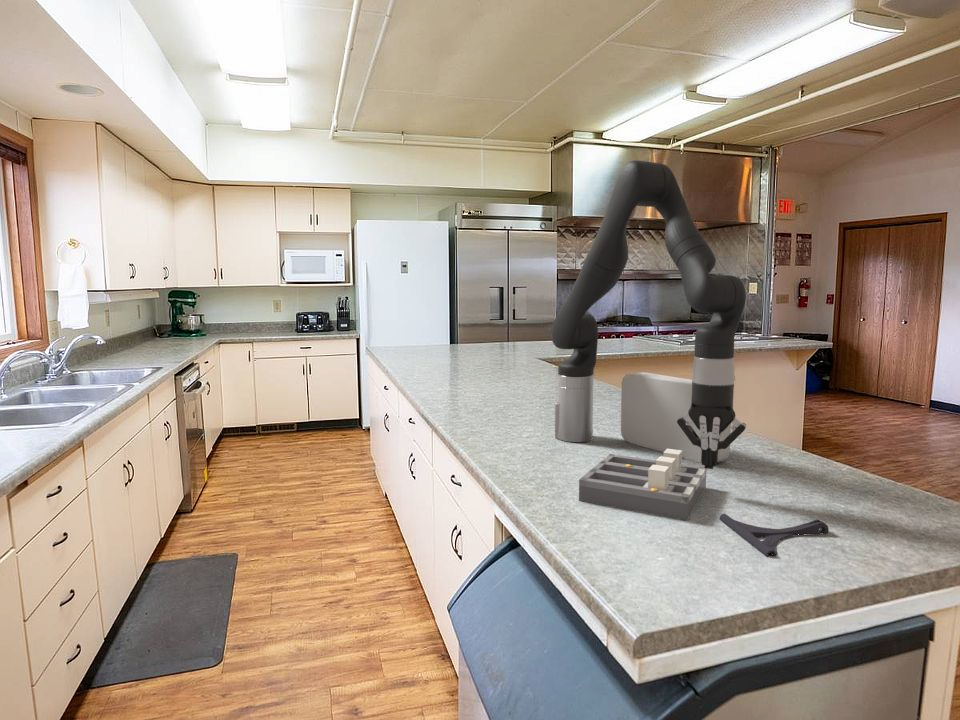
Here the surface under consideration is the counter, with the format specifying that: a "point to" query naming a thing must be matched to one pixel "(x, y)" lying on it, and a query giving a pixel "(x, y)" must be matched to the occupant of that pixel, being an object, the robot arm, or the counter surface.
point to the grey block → (660, 414)
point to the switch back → (678, 456)
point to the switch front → (659, 478)
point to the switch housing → (641, 487)
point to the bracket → (771, 533)
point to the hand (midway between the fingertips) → (709, 467)
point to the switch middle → (671, 464)
